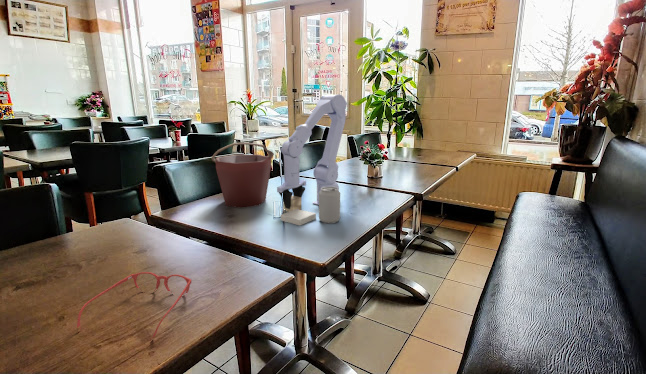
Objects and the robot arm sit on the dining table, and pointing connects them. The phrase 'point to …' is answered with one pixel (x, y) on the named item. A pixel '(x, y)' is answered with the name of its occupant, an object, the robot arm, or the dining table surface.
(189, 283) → the red eyeglasses
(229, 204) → the bucket
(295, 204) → the cube
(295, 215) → the coaster
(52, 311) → the dining table surface
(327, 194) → the can
